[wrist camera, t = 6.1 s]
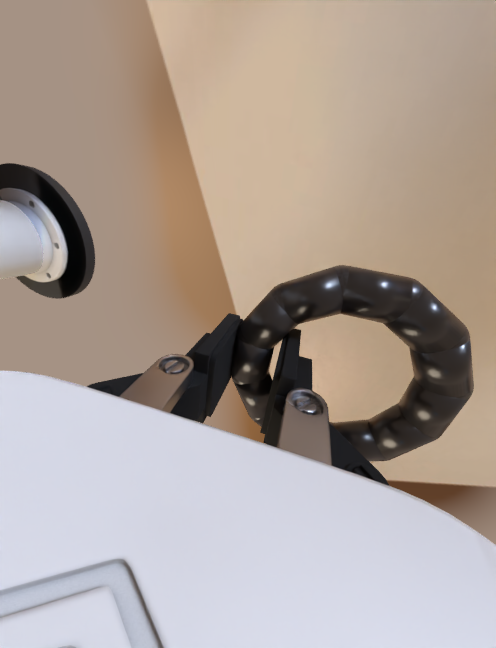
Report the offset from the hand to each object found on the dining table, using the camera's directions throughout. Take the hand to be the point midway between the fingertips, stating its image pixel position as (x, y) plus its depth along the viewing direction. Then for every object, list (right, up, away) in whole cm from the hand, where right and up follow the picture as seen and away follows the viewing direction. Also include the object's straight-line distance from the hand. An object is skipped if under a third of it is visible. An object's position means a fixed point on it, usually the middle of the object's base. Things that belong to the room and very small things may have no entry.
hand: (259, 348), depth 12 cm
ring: (+3, -1, -1) cm, 4 cm away
